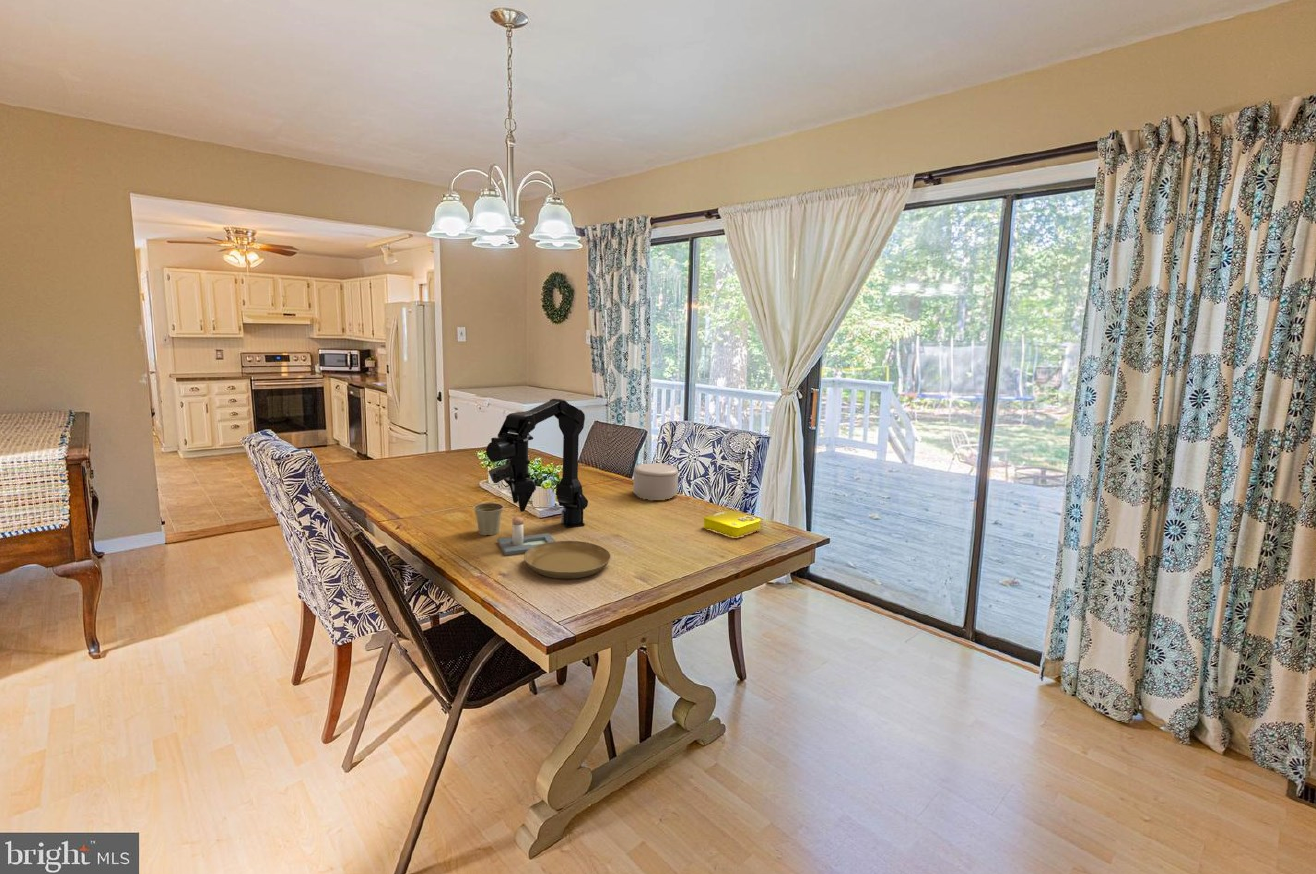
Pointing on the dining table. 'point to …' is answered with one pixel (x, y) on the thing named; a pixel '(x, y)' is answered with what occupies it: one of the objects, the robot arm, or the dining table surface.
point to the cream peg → (517, 531)
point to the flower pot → (488, 517)
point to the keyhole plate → (528, 543)
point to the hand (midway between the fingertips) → (518, 507)
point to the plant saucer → (567, 559)
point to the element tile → (731, 523)
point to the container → (655, 481)
